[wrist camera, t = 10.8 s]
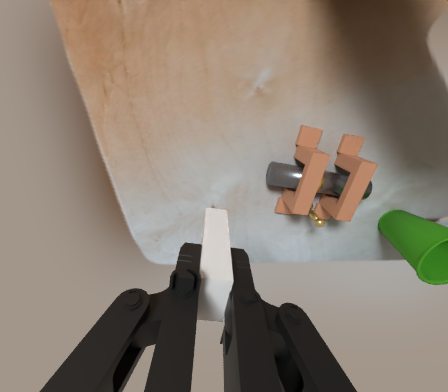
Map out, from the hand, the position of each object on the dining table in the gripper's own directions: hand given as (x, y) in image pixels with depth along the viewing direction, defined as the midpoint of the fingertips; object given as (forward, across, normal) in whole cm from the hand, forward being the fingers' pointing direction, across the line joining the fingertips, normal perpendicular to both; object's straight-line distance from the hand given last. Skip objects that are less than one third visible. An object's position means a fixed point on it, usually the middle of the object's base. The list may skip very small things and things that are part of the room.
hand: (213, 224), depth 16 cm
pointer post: (+20, +17, -6) cm, 27 cm away
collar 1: (+20, +14, 0) cm, 24 cm away
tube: (+20, +17, 0) cm, 26 cm away
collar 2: (+20, +21, 0) cm, 29 cm away
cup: (+20, +35, -6) cm, 41 cm away
